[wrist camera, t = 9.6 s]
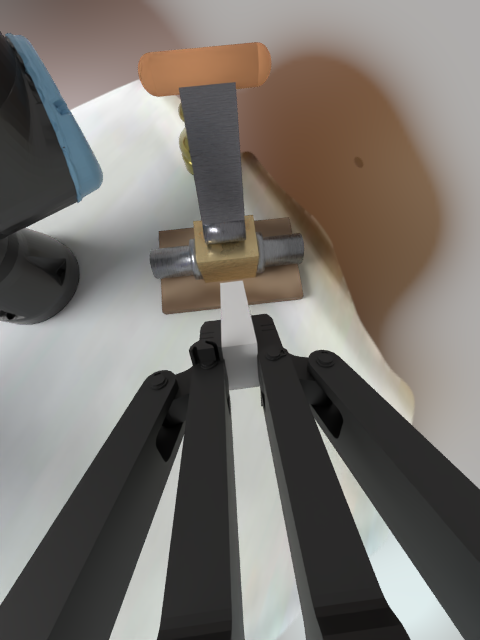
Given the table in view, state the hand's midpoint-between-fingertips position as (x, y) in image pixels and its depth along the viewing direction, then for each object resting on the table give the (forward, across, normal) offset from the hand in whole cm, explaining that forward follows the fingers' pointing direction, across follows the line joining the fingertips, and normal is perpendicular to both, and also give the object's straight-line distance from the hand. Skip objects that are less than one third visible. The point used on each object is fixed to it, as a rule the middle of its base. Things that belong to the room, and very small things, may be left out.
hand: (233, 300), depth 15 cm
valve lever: (+16, 0, 0) cm, 16 cm away
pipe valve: (+23, 0, -6) cm, 23 cm away
